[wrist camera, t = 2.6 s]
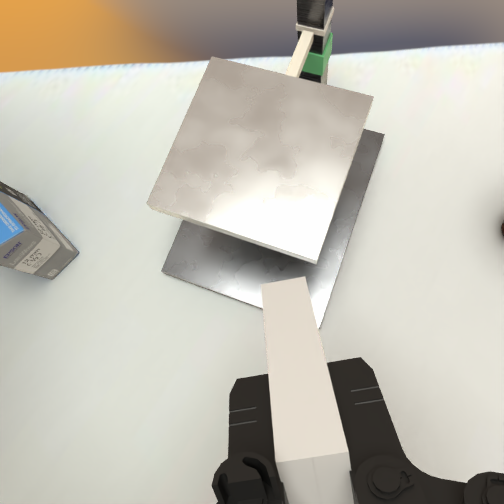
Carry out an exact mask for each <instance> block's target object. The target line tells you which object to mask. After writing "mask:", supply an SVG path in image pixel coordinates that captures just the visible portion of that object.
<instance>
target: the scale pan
mask: <svg viewBox="0 0 504 504" xmlns="http://www.w3.org/2000/svg"><path fill="white" fill-rule="evenodd" d="M313 36H314V32H309V31H305V30H303V32H302V34H301V36H300V39H299V41H298V44H297V47H296V49H295V51H294V54H293V56H292V59H291V61H290V64H289V66H288V69H287V71H286V74H281V73H277V72H273V71H269V70H265V69H261V68H257V67H253V66H249V65H245V64H240V63H236V62H232V61H228V60H224V59H220V58H216V57H211V60H210V62H209V64H208V66H207V69H206V71H205V73H204V75H203V78H202V80H201V82H200V84H199V87H198V89H197V91H196V93H195V96H194V98H193V100H192V102H191V105H190V107H189V109H188V111H187V114H186V116H185V118H184V120H183V123H182V125H181V127H180V129H179V131H178V134H177V136H176V138H175V140H174V143H173V145H172V147H171V149H170V152H169V154H168V156H167V158H166V161H165V163H164V165H163V167H162V170H161V172H160V174H159V176H158V179H157V181H156V183H155V185H154V188H153V190H152V192H151V194H150V197H149V199H148V201H147V203H146V204H147V205H148V206H149V207H150V208H151V209H152V210H155V211H158V212H161V213H164V214H167V215H170V216H173V217H176V218H179V219H182V220H185V221H188V222H191V223H194V224H197V225H200V226H203V227H206V228H209V229H212V230H215V231H218V232H221V233H224V234H227V235H230V236H233V237H236V238H239V239H242V240H245V241H248V242H251V243H254V244H257V245H260V246H263V247H266V248H269V249H272V250H275V251H278V252H281V253H284V254H287V255H290V256H293V257H296V258H299V259H302V260H305V261H308V262H311V263H314V264H316V263H317V260H318V258H319V255H320V252H321V249H322V246H323V243H324V240H325V237H326V235H327V232H328V229H329V226H330V223H331V220H332V217H333V215H334V212H335V209H336V206H337V203H338V200H339V197H340V195H341V192H342V189H343V186H344V183H345V180H346V177H347V175H348V172H349V169H350V166H351V163H352V160H353V157H354V155H355V152H356V149H357V146H358V143H359V140H360V137H361V135H362V132H363V129H364V126H365V123H366V120H367V117H368V115H369V112H370V109H371V106H372V102H373V98H374V97H373V96H369V95H365V94H361V93H357V92H353V91H349V90H345V89H341V88H337V87H333V86H329V85H325V84H321V83H317V82H313V81H309V80H305V79H301V78H299V76H300V73H301V71H302V68H303V66H304V63H305V60H306V58H307V55H308V53H309V50H310V48H311V45H312V43H313Z"/></svg>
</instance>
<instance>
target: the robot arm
mask: <svg viewBox="0 0 504 504" xmlns="http://www.w3.org/2000/svg"><path fill="white" fill-rule="evenodd" d="M261 293H262V305H263V317H264V329H265V341H266V353H267V365H268V374H264V375H258V376H252V377H246V378H240V379H237V380H236V382H235V384H234V386H233V388H232V390H231V392H230V398H229V412H230V414H229V447H228V459H227V460H225V461H224V462H223V463H221V465H220V466H219V468H218V469H217V471H216V472H215V474H214V478H213V482H212V488H213V490H214V493H215V495H216V498H217V500H218V502H217V503H216V504H504V474H503V473H496V472H485V473H479V474H477V475H475V476H474V477H472V478H471V479H470V480H468V482H467V483H463V482H457V481H451V480H445V479H440V478H437V477H433V476H430V475H428V474H426V473H424V472H422V471H420V470H419V469H418V468H417V467H415V466H414V465H413V464H412V463H411V462H410V461H409V460H408V458H407V457H406V455H405V453H404V451H403V450H402V447H401V444H400V442H399V439H398V436H397V433H396V431H395V428H394V425H393V423H392V420H391V417H390V415H389V412H388V409H387V406H386V404H385V401H384V399H383V396H382V393H381V390H380V388H379V385H378V382H377V379H376V377H375V374H374V371H373V369H372V368H371V367H370V366H369V365H368V364H367V363H366V362H365V361H364V360H363V359H362V358H361V357H359V358H353V359H347V360H341V361H335V362H329V363H326V358H325V354H324V350H323V346H322V342H321V338H320V334H319V330H318V326H317V322H316V318H315V314H314V310H313V306H312V302H311V298H310V294H309V290H308V286H307V282H306V278H305V276H304V277H299V278H294V279H288V280H283V281H277V282H272V283H266V284H261Z"/></svg>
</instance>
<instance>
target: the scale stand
mask: <svg viewBox="0 0 504 504" xmlns="http://www.w3.org/2000/svg"><path fill="white" fill-rule="evenodd" d="M332 6H333V0H297V23H296V30H297V31H298V41H299V39H300V36H301V34H302V32H303V30H305V31H309V32H314V36H313V43H312V45H311V48H310V50H309V53H308V55H307V58H306V60H305V63H304V66H303V68H302V71H301V73H300V76H299V78H301V79H305V80H309V81H313V82H317V83H321V84H325V85H327V73H328V60H329V58H330V55H331V49H332V37H333V33H331V19H332V15H333V12H334V7H332ZM384 135H385V134H381V133H378V132H374V131H370V130H366V129H363V132H362V135H361V137H360V140H359V143H358V146H357V149H356V152H355V155H354V157H353V160H352V163H351V166H350V169H349V172H348V175H347V177H346V180H345V183H344V186H343V189H342V192H341V195H340V197H339V200H338V203H337V206H336V209H335V212H334V215H333V217H332V220H331V223H330V226H329V229H328V232H327V235H326V237H325V240H324V243H323V246H322V249H321V252H320V255H319V258H318V260H317V263H316V264H314V263H311V262H308V261H305V260H302V259H299V258H296V257H293V256H290V255H287V254H284V253H281V252H278V251H275V250H272V249H269V248H266V247H263V246H260V245H257V244H254V243H251V242H248V241H245V240H242V239H239V238H236V237H233V236H230V235H227V234H224V233H221V232H218V231H215V230H212V229H209V228H206V227H203V226H200V225H197V224H194V223H191V222H188V221H185V220H183V221H182V223H181V226H180V228H179V230H178V233H177V235H176V237H175V240H174V242H173V244H172V247H171V249H170V252H169V254H168V256H167V259H166V261H165V263H164V266H163V268H162V270H161V271H162V272H163V273H165V274H167V275H170V276H173V277H176V278H178V279H181V280H184V281H187V282H189V283H192V284H195V285H198V286H200V287H203V288H206V289H209V290H211V291H214V292H217V293H220V294H222V295H225V296H228V297H231V298H233V299H236V300H239V301H242V302H244V303H247V304H250V305H253V306H255V307H258V308H261V309H263V305H262V293H261V284H266V283H272V282H277V281H283V280H288V279H294V278H299V277H304V276H305V278H306V282H307V286H308V290H309V294H310V298H311V302H312V306H313V310H314V314H315V318H316V322H317V326H318V330H319V327H320V324H321V321H322V318H323V315H324V312H325V309H326V306H327V303H328V301H329V298H330V295H331V292H332V289H333V286H334V283H335V280H336V277H337V274H338V271H339V268H340V265H341V262H342V259H343V256H344V253H345V250H346V247H347V244H348V241H349V238H350V235H351V232H352V229H353V226H354V224H355V221H356V218H357V215H358V212H359V209H360V206H361V203H362V200H363V197H364V194H365V191H366V188H367V185H368V182H369V179H370V176H371V173H372V170H373V167H374V164H375V161H376V158H377V155H378V152H379V149H380V147H381V144H382V141H383V138H384Z"/></svg>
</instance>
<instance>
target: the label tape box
mask: <svg viewBox="0 0 504 504" xmlns="http://www.w3.org/2000/svg"><path fill="white" fill-rule="evenodd" d="M78 253H79V252H78V250H77V249H76V248H75V247H74V246H73V245H72V244H71V243H70V242H69V241H68V239H67V238H66V237H65V236H64V235H63V234H62V233H61V232H60V231H59V230H58V229H57V228H56V227H55V226H54V225H53V223H52V222H51V221H50V220H49V219H48V218H47V217H46V216H45V215H44V214H43V213H42V212H41V211H40V209H39V208H38V207H37V206H36V205H35V204H34V203H33V202H32V201H31V200H30V199H29V198H28V197H27V196H25V195H24V194H22V193H20V192H18V191H16V190H15V189H13V188H11V187H9V186H7V185H6V184H4V183H2V182H0V265H1V266H5V267H8V268H12V269H15V270H19V271H23V272H26V273H30V274H34V275H37V276H41V277H45V278H48V279H54V278H55V277H56V276H57V275H58V274H59V273H60V272H61V271H62V270H63V269H64V268H65V267H66V266H67V265H68V264H69V263H70V262H71V261H72V260H73V259H74V258H75V257H76V255H77V254H78Z"/></svg>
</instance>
